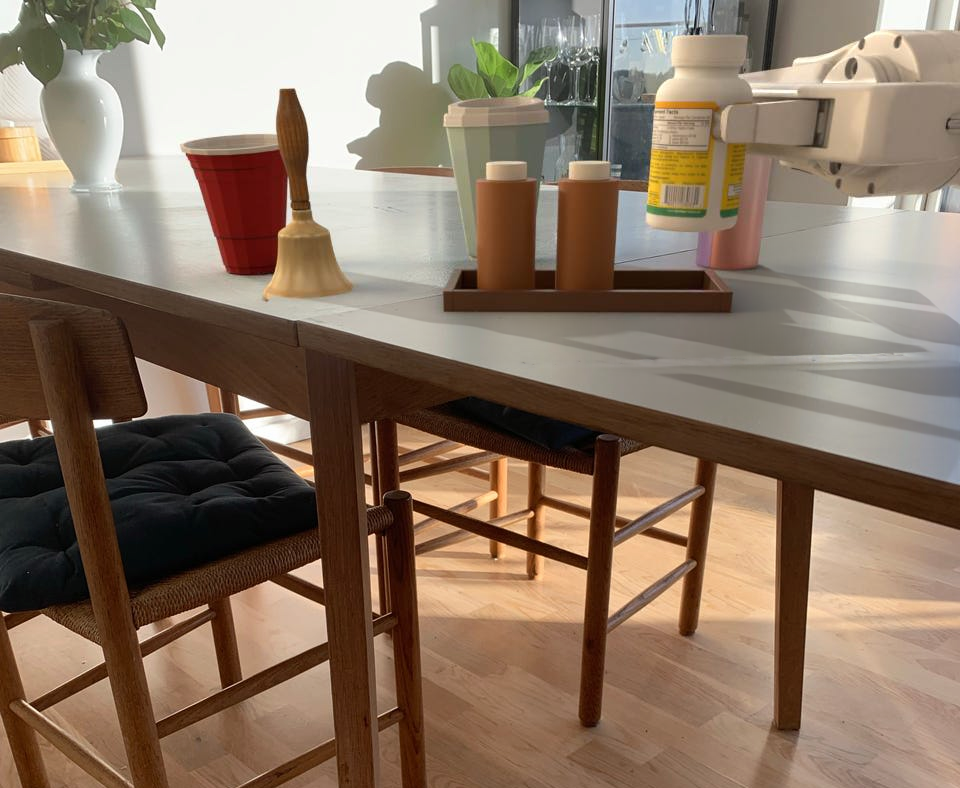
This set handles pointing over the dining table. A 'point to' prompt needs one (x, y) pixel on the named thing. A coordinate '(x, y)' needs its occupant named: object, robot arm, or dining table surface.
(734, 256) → the beverage can
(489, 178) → the far amber bottle
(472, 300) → the tray
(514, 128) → the disposable coffee cup
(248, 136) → the plastic cup
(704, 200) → the supplement bottle
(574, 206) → the amber bottle
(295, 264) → the hand bell
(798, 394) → the dining table surface
